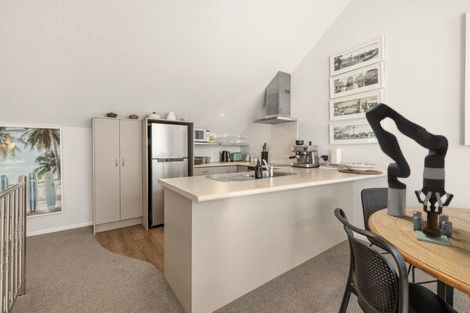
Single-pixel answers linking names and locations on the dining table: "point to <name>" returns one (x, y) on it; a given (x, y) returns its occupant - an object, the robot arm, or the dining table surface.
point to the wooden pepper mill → (432, 221)
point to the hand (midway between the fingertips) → (432, 213)
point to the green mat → (432, 238)
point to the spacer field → (443, 223)
